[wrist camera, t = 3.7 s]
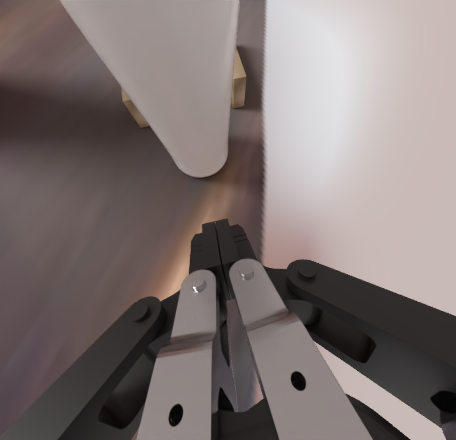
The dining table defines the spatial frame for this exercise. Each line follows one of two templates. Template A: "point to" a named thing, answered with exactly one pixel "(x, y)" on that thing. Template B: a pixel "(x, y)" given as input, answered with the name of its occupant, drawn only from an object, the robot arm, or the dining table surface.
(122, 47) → the drinking glass
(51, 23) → the dining table surface
